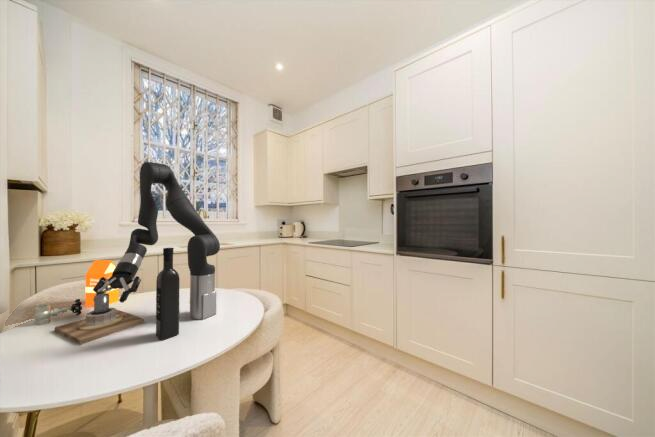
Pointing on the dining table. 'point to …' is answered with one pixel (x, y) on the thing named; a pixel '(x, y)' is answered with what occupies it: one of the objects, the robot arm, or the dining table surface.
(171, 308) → the wine bottle
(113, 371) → the dining table surface
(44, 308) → the valve
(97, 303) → the grey metal cylinder
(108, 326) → the socket fitting
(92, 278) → the orange juice
